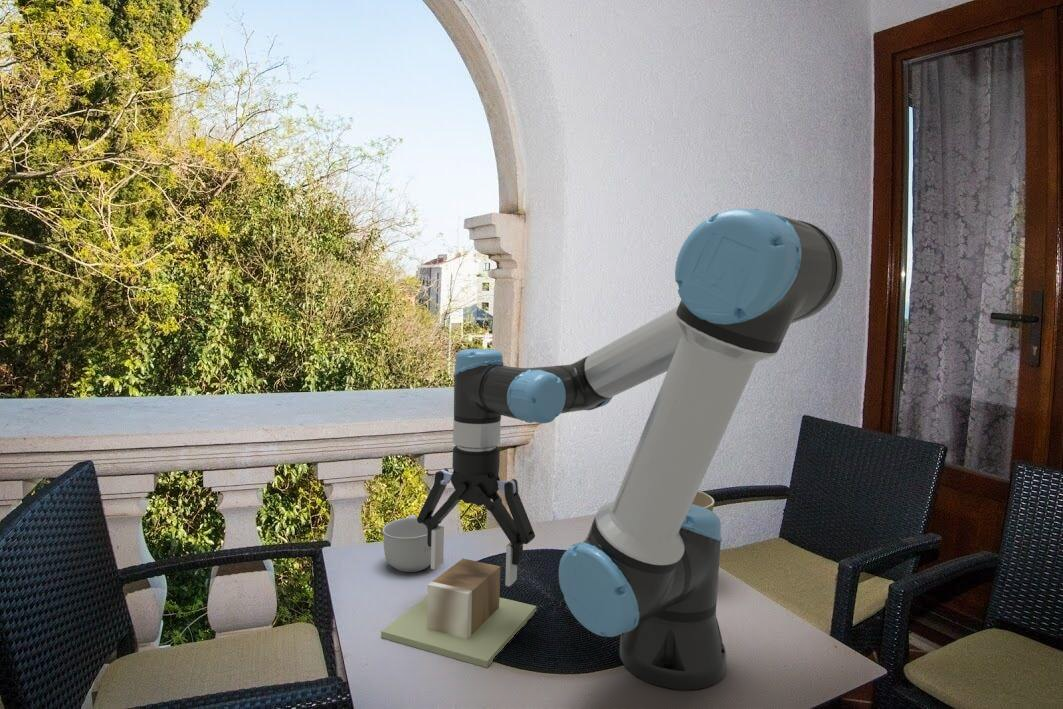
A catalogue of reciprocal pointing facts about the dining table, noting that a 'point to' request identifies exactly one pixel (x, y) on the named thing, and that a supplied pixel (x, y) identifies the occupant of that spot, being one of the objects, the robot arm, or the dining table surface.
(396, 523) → the teacup
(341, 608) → the dining table surface
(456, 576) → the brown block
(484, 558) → the dining table surface
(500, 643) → the olive mat
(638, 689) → the dining table surface
